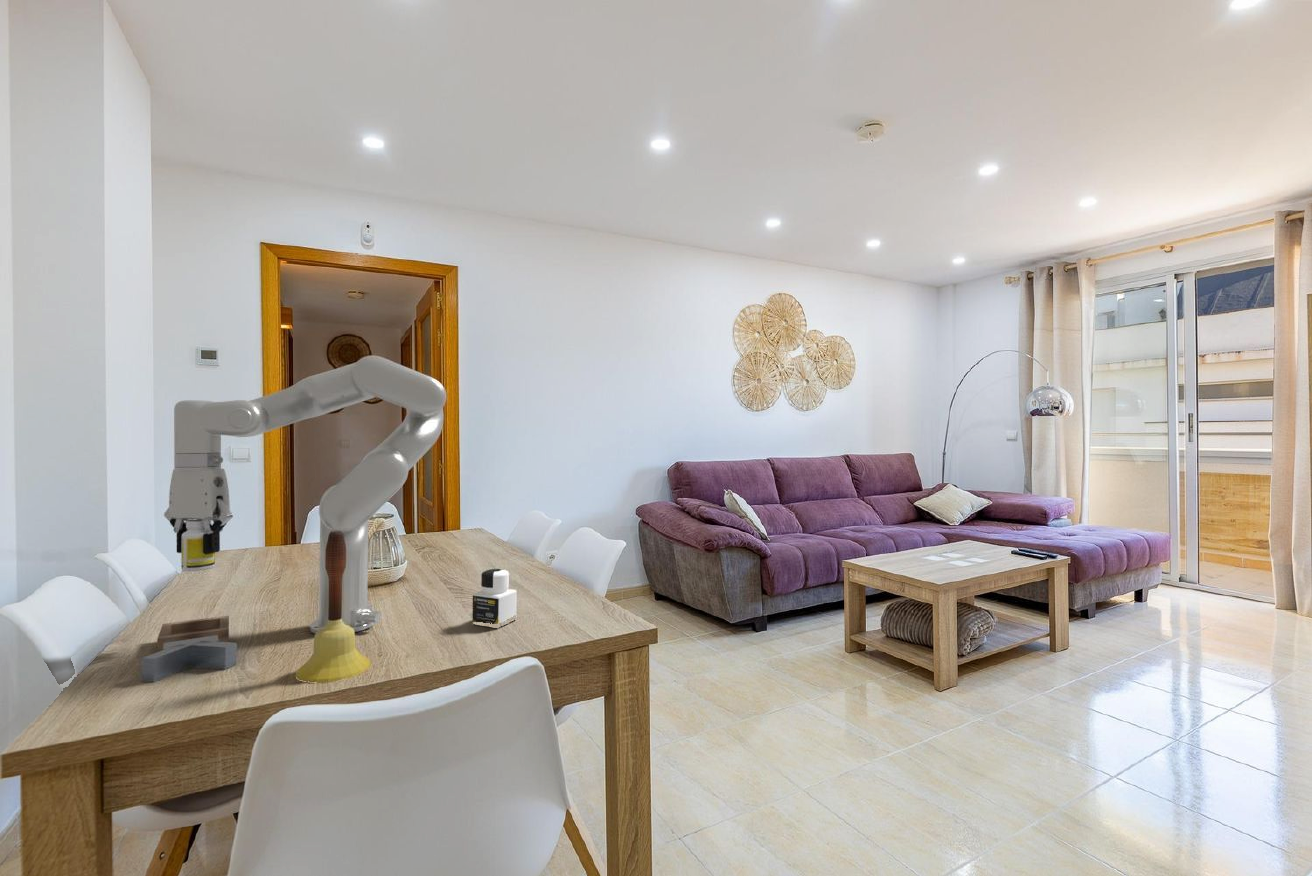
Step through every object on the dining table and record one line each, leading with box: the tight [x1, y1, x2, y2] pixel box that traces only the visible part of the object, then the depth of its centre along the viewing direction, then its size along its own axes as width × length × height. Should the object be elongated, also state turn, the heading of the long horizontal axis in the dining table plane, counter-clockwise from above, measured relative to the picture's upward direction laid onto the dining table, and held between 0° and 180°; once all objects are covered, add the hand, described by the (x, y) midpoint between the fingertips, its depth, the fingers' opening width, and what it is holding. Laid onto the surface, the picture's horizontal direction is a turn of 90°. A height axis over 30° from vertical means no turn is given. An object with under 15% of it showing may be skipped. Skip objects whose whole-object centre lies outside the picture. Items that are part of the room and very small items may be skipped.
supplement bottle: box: [180, 519, 216, 572], centre depth 122 cm, size 5×5×10 cm
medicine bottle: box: [471, 568, 518, 624], centre depth 139 cm, size 7×7×12 cm
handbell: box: [294, 531, 371, 684], centre depth 110 cm, size 12×12×25 cm
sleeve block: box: [156, 615, 230, 653], centre depth 122 cm, size 11×11×4 cm
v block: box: [141, 635, 238, 683], centre depth 110 cm, size 9×13×4 cm
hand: (198, 551), depth 122 cm, fingers closed on supplement bottle, 5 cm apart
